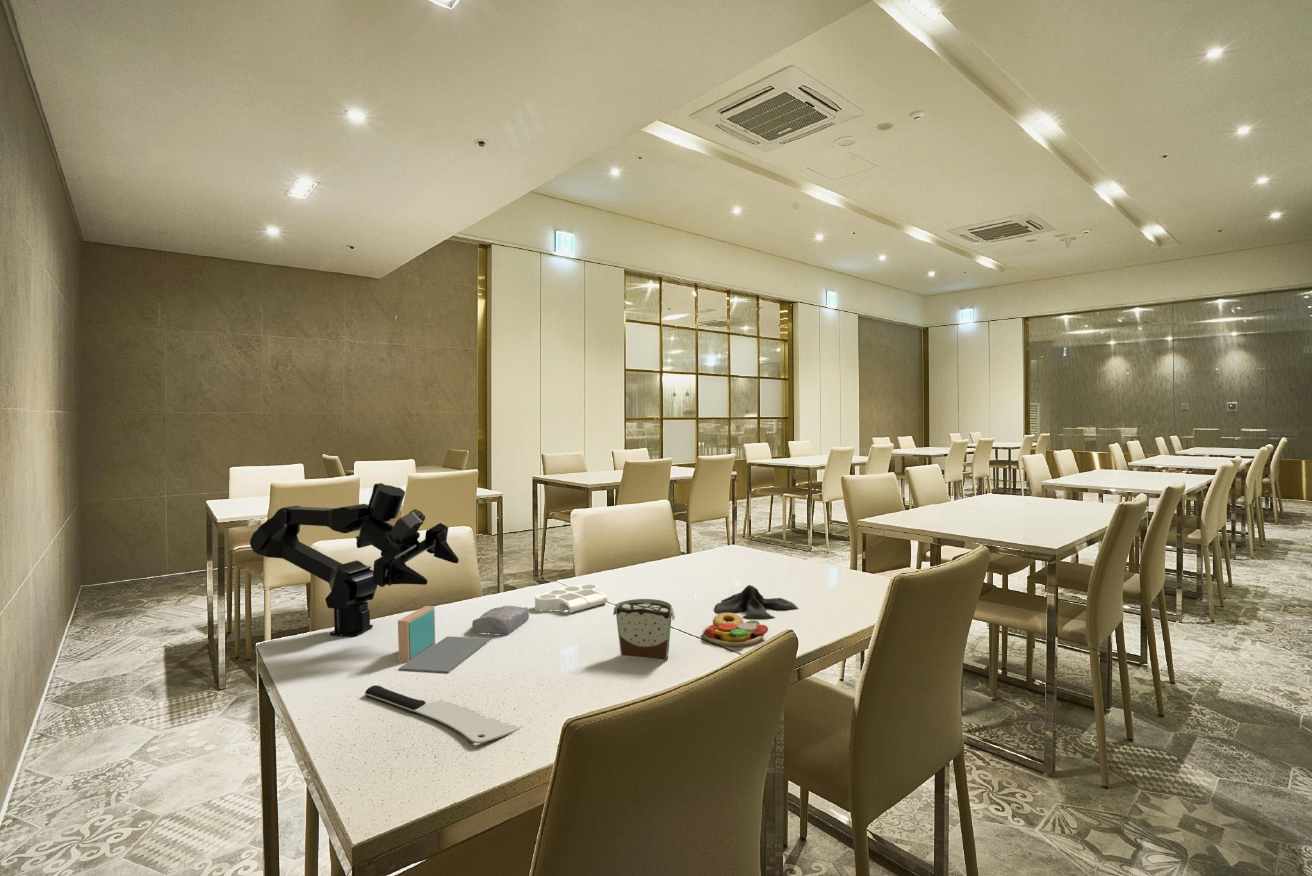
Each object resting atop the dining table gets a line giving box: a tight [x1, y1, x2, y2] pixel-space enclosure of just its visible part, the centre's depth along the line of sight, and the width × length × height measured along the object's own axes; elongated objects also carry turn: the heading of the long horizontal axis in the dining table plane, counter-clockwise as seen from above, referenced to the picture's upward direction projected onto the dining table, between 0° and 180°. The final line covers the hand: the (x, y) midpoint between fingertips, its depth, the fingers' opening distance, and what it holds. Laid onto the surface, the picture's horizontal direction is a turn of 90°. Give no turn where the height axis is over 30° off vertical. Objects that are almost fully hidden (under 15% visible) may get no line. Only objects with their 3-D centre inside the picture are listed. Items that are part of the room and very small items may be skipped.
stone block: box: [471, 605, 530, 636], centre depth 145 cm, size 12×5×10 cm
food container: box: [612, 598, 676, 662], centre depth 126 cm, size 12×6×10 cm, turn 71°
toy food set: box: [702, 613, 769, 647], centre depth 135 cm, size 13×13×3 cm
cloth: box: [714, 584, 799, 620], centre depth 156 cm, size 22×19×6 cm
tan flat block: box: [397, 605, 436, 663], centre depth 128 cm, size 2×10×8 cm, turn 169°
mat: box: [398, 635, 492, 674], centre depth 127 cm, size 10×18×1 cm, turn 169°
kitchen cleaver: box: [364, 685, 524, 744], centre depth 102 cm, size 31×2×10 cm
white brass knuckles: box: [534, 583, 608, 615], centre depth 161 cm, size 3×18×15 cm
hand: (442, 571), depth 134 cm, fingers open, 9 cm apart
